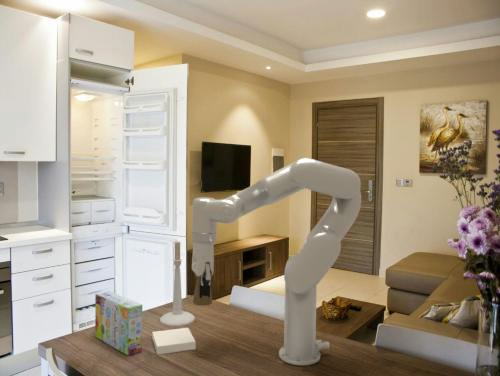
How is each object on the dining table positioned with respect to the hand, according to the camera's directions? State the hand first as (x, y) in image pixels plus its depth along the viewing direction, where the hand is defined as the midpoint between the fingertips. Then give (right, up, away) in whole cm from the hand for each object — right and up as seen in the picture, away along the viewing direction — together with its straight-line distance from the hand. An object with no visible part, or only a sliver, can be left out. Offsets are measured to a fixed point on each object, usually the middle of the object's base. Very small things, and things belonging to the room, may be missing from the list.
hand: (202, 294), depth 132 cm
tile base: (-10, -17, +5) cm, 21 cm away
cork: (0, -2, 0) cm, 2 cm away
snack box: (-28, -17, +5) cm, 34 cm away
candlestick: (-13, -16, +27) cm, 34 cm away
